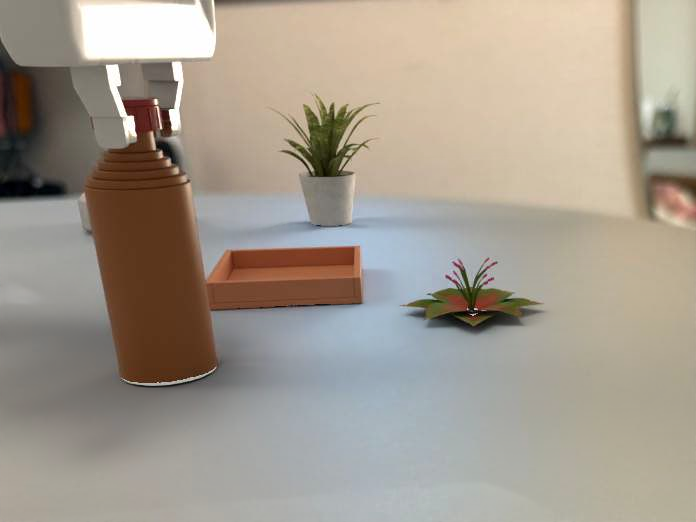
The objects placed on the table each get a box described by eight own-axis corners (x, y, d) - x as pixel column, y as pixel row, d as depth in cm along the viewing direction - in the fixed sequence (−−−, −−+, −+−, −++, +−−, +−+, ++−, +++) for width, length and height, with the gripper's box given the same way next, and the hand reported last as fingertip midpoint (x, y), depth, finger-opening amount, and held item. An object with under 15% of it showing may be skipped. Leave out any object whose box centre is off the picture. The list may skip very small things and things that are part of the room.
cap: (176, 128, 55) (172, 97, 55) (135, 133, 52) (130, 100, 51) (122, 126, 56) (117, 95, 55) (78, 131, 53) (72, 99, 52)
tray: (207, 310, 74) (203, 283, 73) (229, 273, 86) (225, 249, 85) (362, 303, 76) (360, 277, 75) (362, 268, 88) (360, 245, 87)
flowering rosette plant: (373, 314, 73) (370, 261, 71) (470, 287, 82) (469, 239, 80) (474, 343, 66) (473, 286, 64) (569, 310, 75) (570, 259, 73)
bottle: (109, 389, 57) (53, 113, 50) (133, 357, 63) (86, 106, 56) (210, 384, 58) (168, 112, 51) (224, 353, 64) (188, 106, 57)
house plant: (418, 220, 113) (412, 89, 107) (345, 238, 102) (334, 93, 96) (338, 209, 120) (327, 86, 113) (262, 225, 109) (246, 89, 102)
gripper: (56, -147, 39) (112, 163, 44) (220, -85, 58) (246, 128, 63) (-79, -148, 39) (-7, 161, 45) (129, -85, 58) (162, 127, 63)
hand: (142, 141), depth 54 cm, fingers open, 5 cm apart
